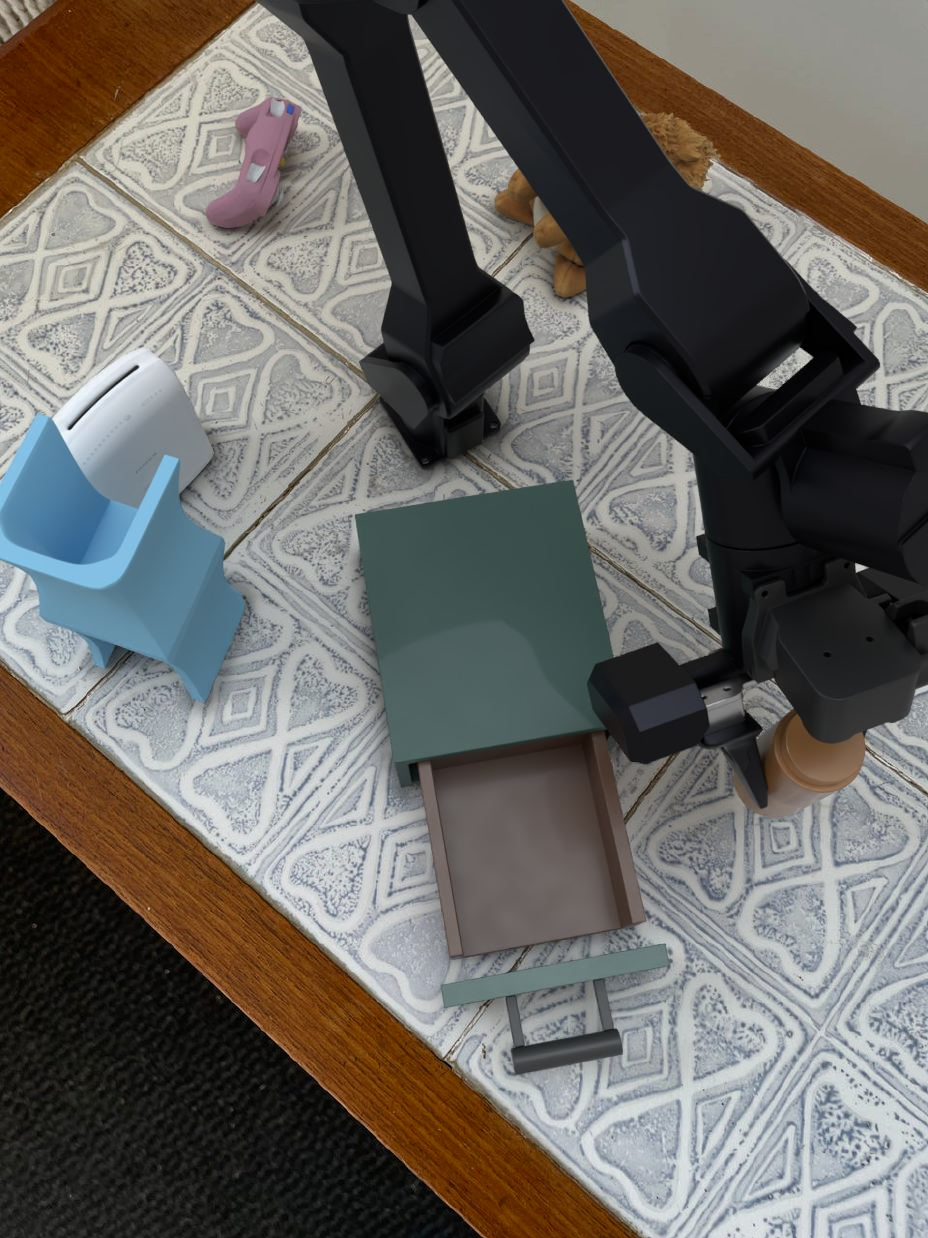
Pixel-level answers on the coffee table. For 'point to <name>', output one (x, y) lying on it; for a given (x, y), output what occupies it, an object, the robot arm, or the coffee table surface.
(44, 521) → the light blue toy chair
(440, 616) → the cabinet
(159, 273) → the coffee table surface
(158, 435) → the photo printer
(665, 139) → the stuffed squirrel
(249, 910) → the coffee table surface
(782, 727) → the tan lidded cylinder
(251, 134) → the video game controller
